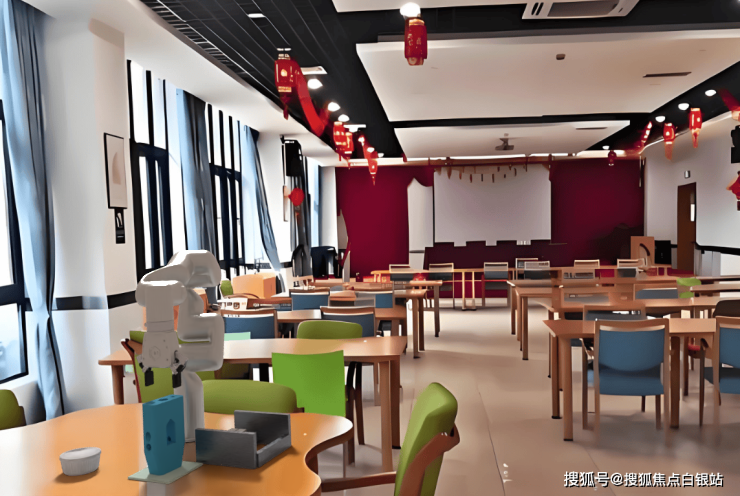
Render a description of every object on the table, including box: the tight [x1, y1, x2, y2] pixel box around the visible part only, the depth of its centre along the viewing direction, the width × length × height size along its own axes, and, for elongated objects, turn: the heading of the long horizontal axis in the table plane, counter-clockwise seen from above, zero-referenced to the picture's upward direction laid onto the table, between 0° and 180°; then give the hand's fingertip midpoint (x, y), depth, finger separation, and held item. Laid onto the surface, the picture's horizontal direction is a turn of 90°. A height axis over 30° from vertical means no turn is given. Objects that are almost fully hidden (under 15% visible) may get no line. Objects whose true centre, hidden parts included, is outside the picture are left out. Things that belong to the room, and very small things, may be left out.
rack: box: [194, 409, 292, 470], centre depth 190 cm, size 20×22×10 cm
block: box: [141, 393, 186, 476], centre depth 177 cm, size 12×5×20 cm, turn 154°
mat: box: [127, 460, 204, 485], centre depth 177 cm, size 14×15×1 cm
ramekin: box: [58, 446, 102, 477], centre depth 181 cm, size 11×11×5 cm
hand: (163, 386), depth 177 cm, fingers open, 9 cm apart
